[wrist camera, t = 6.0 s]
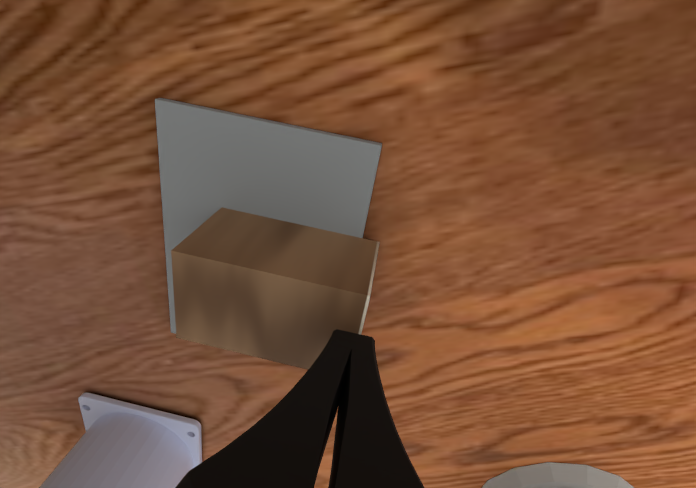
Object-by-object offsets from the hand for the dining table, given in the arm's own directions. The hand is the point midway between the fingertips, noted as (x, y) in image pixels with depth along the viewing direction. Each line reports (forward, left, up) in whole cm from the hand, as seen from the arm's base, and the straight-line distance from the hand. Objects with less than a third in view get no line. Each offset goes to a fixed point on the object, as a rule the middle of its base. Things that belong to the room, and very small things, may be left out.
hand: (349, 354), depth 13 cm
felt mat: (0, +5, -5) cm, 7 cm away
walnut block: (0, 0, -3) cm, 3 cm away
